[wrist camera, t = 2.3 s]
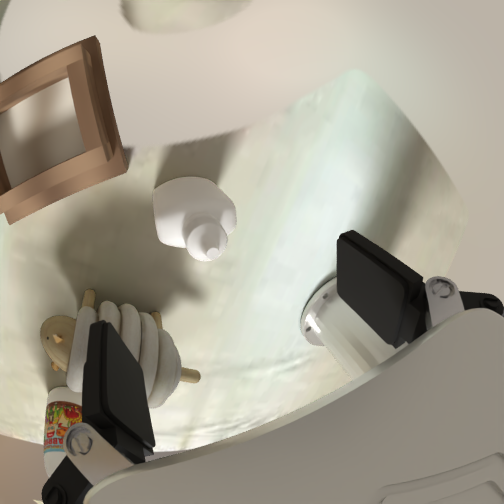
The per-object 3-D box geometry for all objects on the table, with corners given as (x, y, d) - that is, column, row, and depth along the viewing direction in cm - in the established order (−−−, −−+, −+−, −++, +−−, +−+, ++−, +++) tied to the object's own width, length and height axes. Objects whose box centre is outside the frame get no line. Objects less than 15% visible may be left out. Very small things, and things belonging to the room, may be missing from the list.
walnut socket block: (99, 43, 16) (86, 21, 11) (128, 167, 22) (122, 181, 17) (-13, 101, 13) (-47, 102, 8) (19, 215, 19) (-8, 242, 14)
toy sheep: (58, 256, 22) (25, 333, 13) (208, 300, 31) (239, 377, 21) (49, 333, 25) (32, 411, 16) (176, 363, 33) (196, 436, 24)
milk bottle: (105, 402, 32) (121, 528, 16) (79, 418, 32) (89, 530, 16) (62, 377, 28) (62, 516, 12) (40, 396, 28) (37, 516, 11)
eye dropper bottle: (202, 225, 27) (241, 297, 17) (146, 207, 24) (149, 276, 14) (220, 183, 25) (275, 232, 15) (163, 162, 23) (177, 197, 13)
